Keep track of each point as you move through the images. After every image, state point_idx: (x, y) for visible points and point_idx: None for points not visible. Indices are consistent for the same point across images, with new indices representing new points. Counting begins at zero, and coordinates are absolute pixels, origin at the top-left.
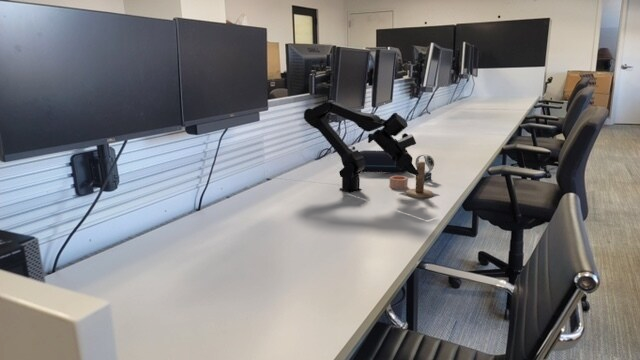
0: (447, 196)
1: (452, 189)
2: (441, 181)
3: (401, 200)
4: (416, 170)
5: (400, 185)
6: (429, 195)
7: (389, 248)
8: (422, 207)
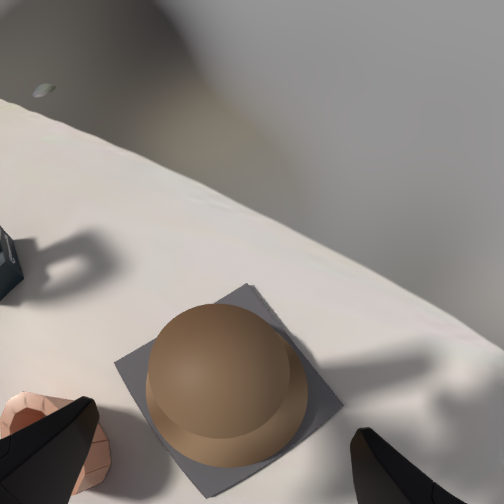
0: (255, 253)
1: (152, 202)
2: (44, 210)
3: (316, 497)
4: (402, 455)
5: (99, 459)
6: (293, 349)
7: None
8: (418, 405)
